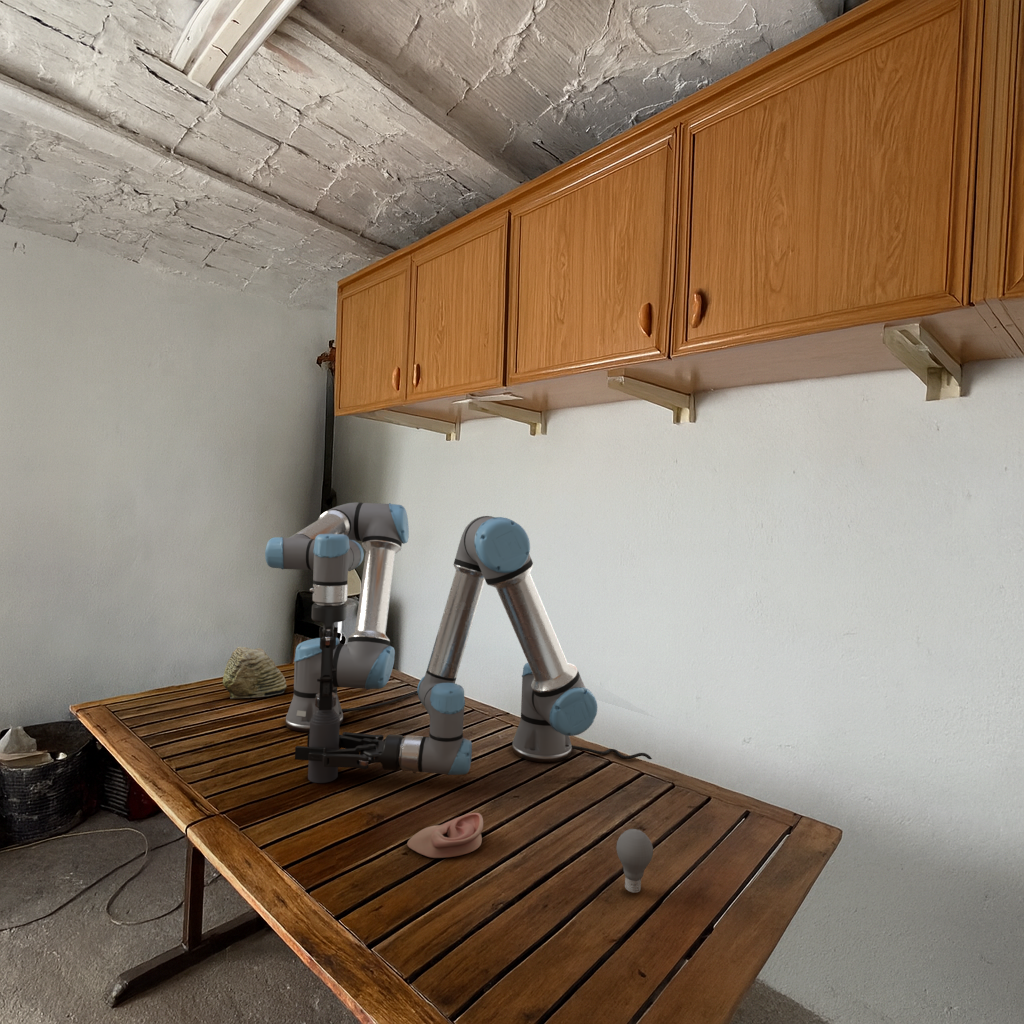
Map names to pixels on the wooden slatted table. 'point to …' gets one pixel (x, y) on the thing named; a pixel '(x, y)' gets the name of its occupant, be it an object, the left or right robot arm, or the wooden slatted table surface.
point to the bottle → (323, 743)
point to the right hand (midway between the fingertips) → (302, 746)
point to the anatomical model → (449, 837)
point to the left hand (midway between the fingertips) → (325, 705)
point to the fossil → (252, 674)
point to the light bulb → (634, 857)
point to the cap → (332, 700)
